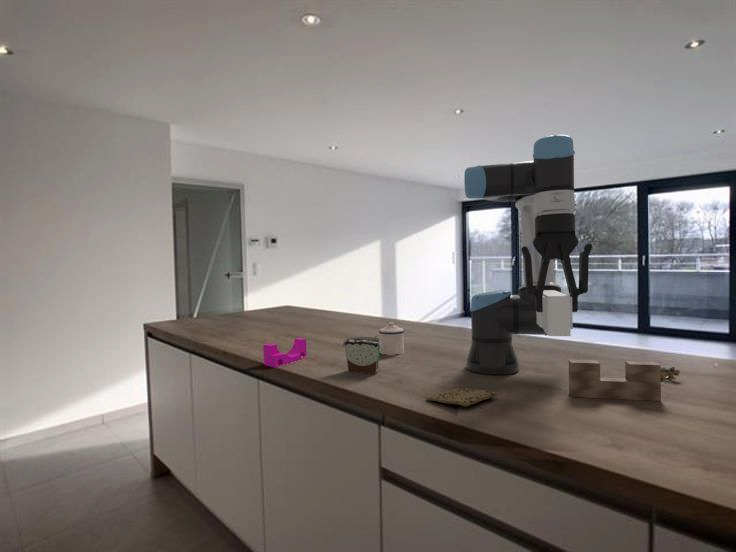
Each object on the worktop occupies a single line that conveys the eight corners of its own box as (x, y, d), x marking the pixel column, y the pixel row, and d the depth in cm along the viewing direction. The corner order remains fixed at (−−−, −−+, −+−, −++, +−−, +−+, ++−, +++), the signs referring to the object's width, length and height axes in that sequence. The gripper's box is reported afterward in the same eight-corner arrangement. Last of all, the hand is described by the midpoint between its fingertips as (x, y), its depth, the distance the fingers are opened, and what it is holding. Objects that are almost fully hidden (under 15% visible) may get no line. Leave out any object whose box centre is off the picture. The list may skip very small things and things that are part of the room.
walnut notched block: (572, 396, 96) (571, 362, 96) (569, 393, 99) (568, 359, 99) (661, 401, 91) (660, 365, 91) (655, 396, 94) (654, 362, 94)
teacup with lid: (409, 353, 150) (408, 321, 150) (397, 358, 142) (396, 324, 142) (380, 351, 156) (379, 320, 156) (367, 355, 149) (366, 323, 148)
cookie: (456, 389, 106) (456, 381, 106) (498, 400, 96) (498, 391, 96) (424, 400, 98) (424, 391, 98) (466, 412, 89) (466, 403, 89)
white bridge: (570, 336, 82) (569, 295, 82) (548, 336, 83) (547, 296, 83) (554, 323, 99) (553, 290, 99) (536, 323, 100) (536, 290, 100)
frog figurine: (686, 378, 110) (686, 364, 110) (676, 388, 102) (676, 373, 102) (636, 371, 118) (636, 358, 118) (623, 380, 110) (623, 366, 110)
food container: (388, 370, 126) (388, 337, 126) (381, 375, 121) (380, 341, 121) (352, 367, 131) (352, 335, 131) (343, 371, 126) (342, 339, 126)
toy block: (275, 370, 131) (274, 346, 131) (264, 367, 136) (263, 344, 135) (311, 361, 143) (310, 339, 143) (299, 359, 147) (299, 338, 147)
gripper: (511, 214, 83) (514, 330, 84) (606, 209, 79) (608, 331, 79) (509, 218, 91) (511, 325, 91) (595, 213, 86) (597, 325, 87)
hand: (556, 327), depth 85 cm, fingers closed on white bridge, 4 cm apart
